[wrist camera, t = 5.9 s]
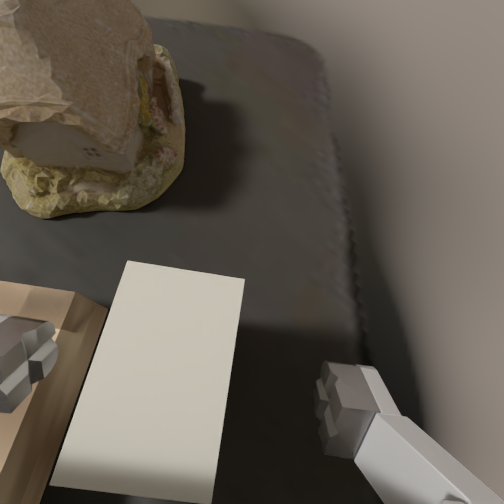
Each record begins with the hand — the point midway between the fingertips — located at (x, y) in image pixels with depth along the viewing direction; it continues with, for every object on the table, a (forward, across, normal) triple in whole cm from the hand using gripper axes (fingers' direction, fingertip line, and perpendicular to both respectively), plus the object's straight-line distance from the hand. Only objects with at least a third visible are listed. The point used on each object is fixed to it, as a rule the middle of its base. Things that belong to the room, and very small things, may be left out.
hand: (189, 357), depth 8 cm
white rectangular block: (+4, 0, -5) cm, 6 cm away
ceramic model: (+14, -10, +5) cm, 18 cm away
